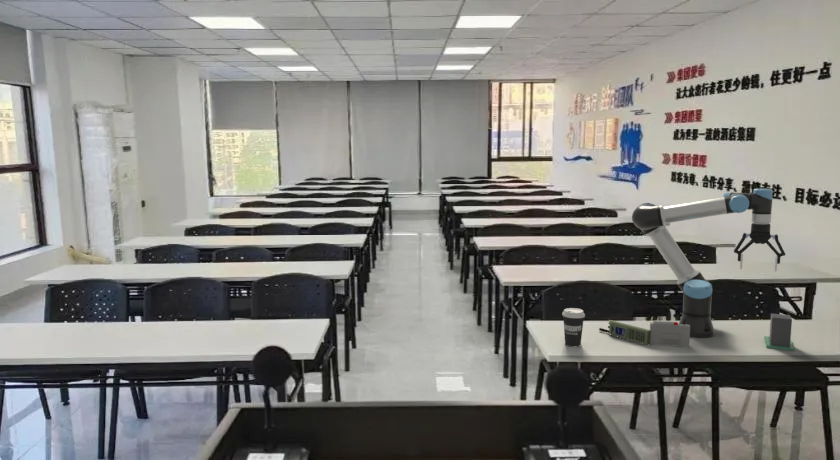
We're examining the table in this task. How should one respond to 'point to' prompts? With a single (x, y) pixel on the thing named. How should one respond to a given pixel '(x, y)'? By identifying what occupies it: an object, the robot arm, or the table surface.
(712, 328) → the robot arm
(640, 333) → the handheld radio
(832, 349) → the table surface
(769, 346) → the header board
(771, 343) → the block
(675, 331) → the cassette player
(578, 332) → the coffee cup
